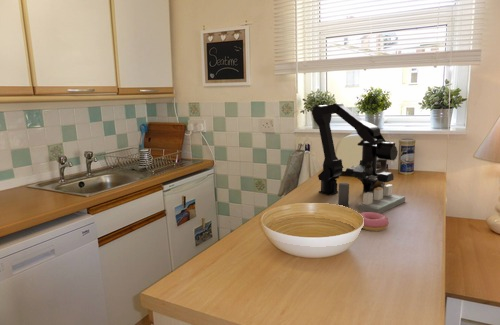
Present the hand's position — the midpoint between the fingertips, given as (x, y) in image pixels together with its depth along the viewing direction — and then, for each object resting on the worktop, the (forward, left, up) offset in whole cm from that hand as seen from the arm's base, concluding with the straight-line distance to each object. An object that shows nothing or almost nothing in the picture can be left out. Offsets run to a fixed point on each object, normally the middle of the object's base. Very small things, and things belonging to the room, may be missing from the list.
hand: (367, 194), depth 151 cm
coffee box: (-4, +13, -3) cm, 14 cm away
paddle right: (+5, +8, -1) cm, 9 cm away
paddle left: (+5, -8, -1) cm, 9 cm away
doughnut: (+15, -23, -4) cm, 28 cm away
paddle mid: (+5, 0, -1) cm, 5 cm away
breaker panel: (+7, 0, -3) cm, 7 cm away
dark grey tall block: (-4, -11, -3) cm, 12 cm away
